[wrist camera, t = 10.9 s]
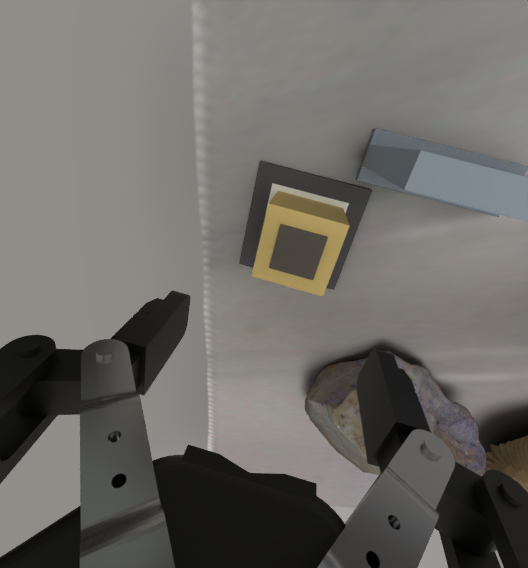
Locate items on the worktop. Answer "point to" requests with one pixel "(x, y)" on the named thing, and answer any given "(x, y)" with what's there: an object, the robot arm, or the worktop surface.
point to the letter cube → (300, 242)
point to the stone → (347, 421)
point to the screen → (446, 174)
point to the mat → (308, 187)
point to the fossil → (510, 460)
